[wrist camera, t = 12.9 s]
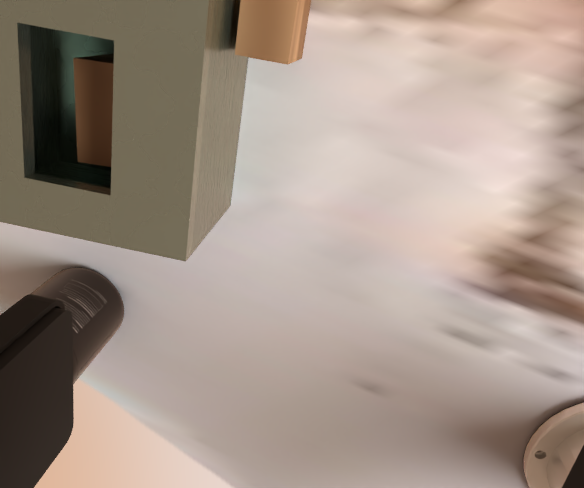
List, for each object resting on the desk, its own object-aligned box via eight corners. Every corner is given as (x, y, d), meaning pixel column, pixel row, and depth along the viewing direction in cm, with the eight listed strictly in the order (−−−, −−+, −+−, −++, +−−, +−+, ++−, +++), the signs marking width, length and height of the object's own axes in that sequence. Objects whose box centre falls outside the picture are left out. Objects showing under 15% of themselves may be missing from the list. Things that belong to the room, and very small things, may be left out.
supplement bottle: (35, 276, 44) (-79, 360, 33) (104, 255, 42) (8, 337, 31) (73, 344, 46) (-22, 445, 35) (140, 327, 44) (63, 427, 33)
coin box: (255, -2, 33) (209, -12, 24) (230, 205, 39) (185, 261, 30) (45, -39, 34) (-76, -62, 25) (50, 169, 40) (-47, 211, 30)
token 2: (318, -46, 32) (306, -61, 26) (301, 58, 34) (287, 64, 29) (270, -54, 32) (248, -71, 26) (256, 50, 34) (234, 54, 29)
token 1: (163, 58, 35) (124, 65, 29) (161, 148, 37) (124, 169, 32) (120, 52, 35) (73, 57, 29) (121, 141, 37) (77, 161, 32)
